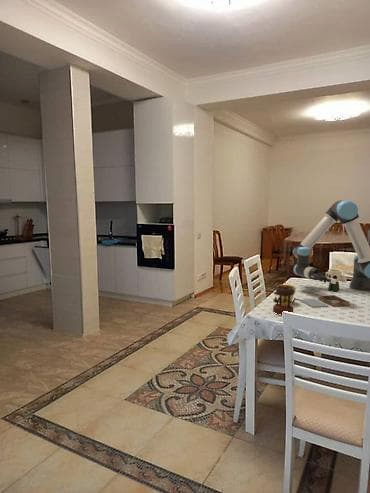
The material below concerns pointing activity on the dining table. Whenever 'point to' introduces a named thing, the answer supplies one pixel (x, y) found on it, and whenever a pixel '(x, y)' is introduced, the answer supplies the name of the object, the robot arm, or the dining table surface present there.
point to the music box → (284, 292)
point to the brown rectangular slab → (340, 303)
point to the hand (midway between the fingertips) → (340, 281)
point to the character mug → (335, 275)
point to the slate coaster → (313, 303)
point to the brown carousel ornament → (287, 296)
